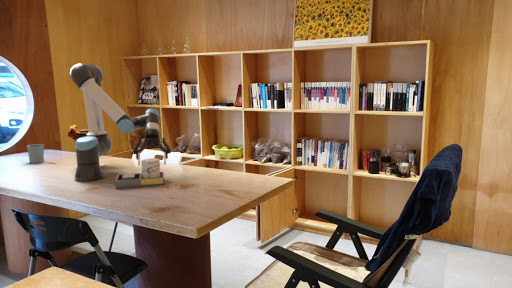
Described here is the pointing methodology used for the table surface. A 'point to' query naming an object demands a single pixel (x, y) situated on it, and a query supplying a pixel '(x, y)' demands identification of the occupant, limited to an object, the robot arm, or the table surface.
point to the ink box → (151, 168)
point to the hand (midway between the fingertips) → (152, 163)
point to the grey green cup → (36, 153)
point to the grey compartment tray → (137, 181)
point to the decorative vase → (78, 135)
